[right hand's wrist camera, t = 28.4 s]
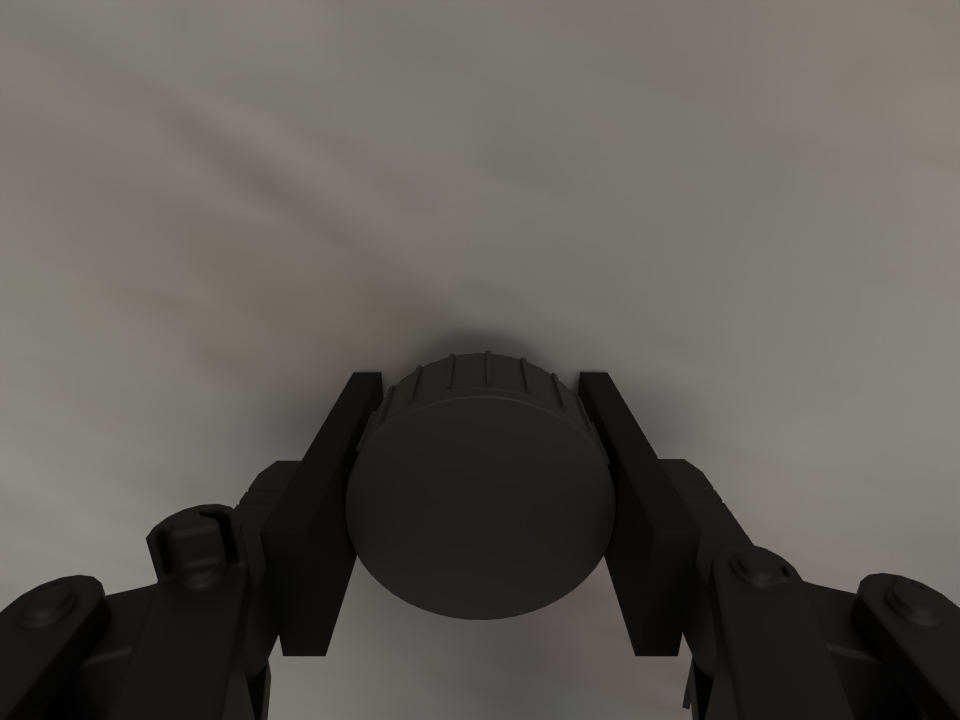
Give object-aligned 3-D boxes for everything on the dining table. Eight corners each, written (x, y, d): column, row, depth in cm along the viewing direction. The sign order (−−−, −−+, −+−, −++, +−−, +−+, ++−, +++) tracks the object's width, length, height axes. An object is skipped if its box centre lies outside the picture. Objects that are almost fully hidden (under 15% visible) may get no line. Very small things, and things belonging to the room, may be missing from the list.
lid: (524, 580, 14) (532, 655, 12) (328, 497, 13) (298, 564, 11) (643, 416, 12) (677, 470, 10) (425, 306, 11) (412, 341, 9)
